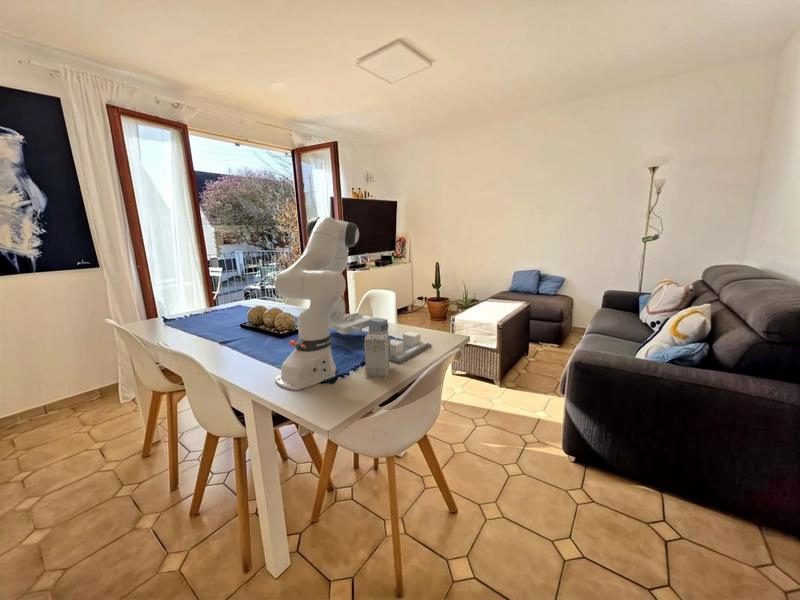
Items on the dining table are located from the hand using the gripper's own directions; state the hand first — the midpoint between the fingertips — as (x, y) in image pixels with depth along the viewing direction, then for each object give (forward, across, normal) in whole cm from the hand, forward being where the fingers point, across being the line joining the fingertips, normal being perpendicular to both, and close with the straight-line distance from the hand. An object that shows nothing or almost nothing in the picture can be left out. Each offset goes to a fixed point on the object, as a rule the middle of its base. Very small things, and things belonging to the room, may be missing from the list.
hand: (367, 327), depth 154 cm
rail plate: (+20, 0, +7) cm, 22 cm away
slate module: (+6, 0, +7) cm, 9 cm away
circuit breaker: (+24, -21, +8) cm, 33 cm away
